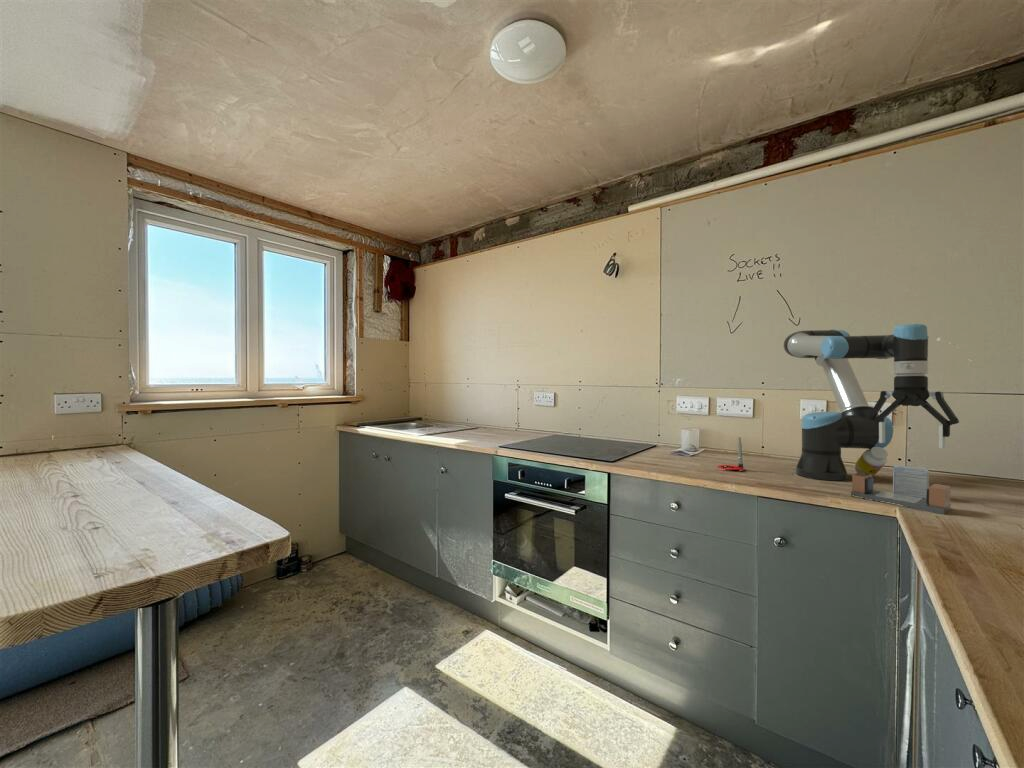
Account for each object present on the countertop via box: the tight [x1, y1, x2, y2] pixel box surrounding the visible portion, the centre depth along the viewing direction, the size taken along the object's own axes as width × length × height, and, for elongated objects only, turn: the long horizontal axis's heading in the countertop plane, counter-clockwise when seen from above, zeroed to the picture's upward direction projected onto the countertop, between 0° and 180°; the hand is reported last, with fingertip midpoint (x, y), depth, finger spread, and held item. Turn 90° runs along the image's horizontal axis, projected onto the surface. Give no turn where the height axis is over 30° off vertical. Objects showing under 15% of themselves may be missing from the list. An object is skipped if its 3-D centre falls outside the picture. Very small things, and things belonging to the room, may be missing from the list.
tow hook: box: [716, 437, 744, 472], centre depth 166 cm, size 8×13×9 cm
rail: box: [850, 472, 952, 515], centre depth 122 cm, size 20×8×6 cm, turn 34°
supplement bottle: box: [853, 447, 888, 477], centre depth 151 cm, size 7×7×13 cm
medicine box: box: [892, 464, 930, 499], centre depth 129 cm, size 8×4×9 cm, turn 47°
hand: (910, 445), depth 128 cm, fingers open, 13 cm apart
